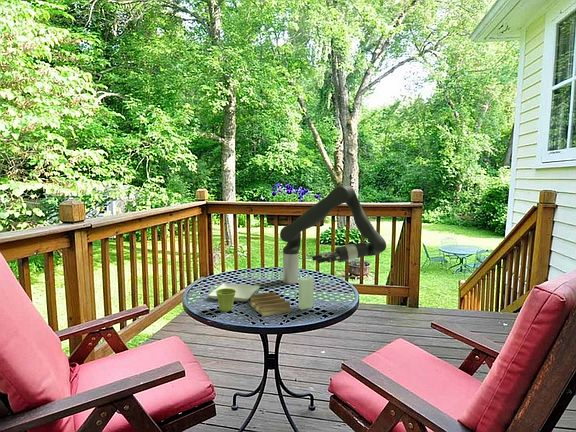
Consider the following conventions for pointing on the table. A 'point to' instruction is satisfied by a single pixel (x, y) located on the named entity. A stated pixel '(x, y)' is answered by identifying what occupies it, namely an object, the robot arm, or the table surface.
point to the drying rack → (269, 304)
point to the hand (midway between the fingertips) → (314, 259)
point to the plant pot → (225, 298)
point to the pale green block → (306, 293)
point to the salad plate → (237, 291)
